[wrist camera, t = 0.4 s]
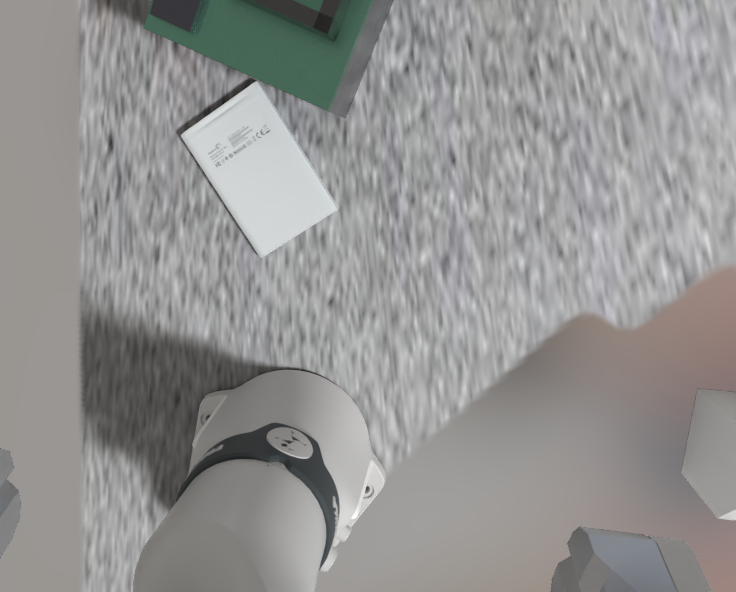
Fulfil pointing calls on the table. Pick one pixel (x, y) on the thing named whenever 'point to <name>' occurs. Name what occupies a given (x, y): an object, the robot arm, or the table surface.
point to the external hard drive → (259, 170)
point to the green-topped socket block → (281, 41)
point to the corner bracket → (713, 451)
